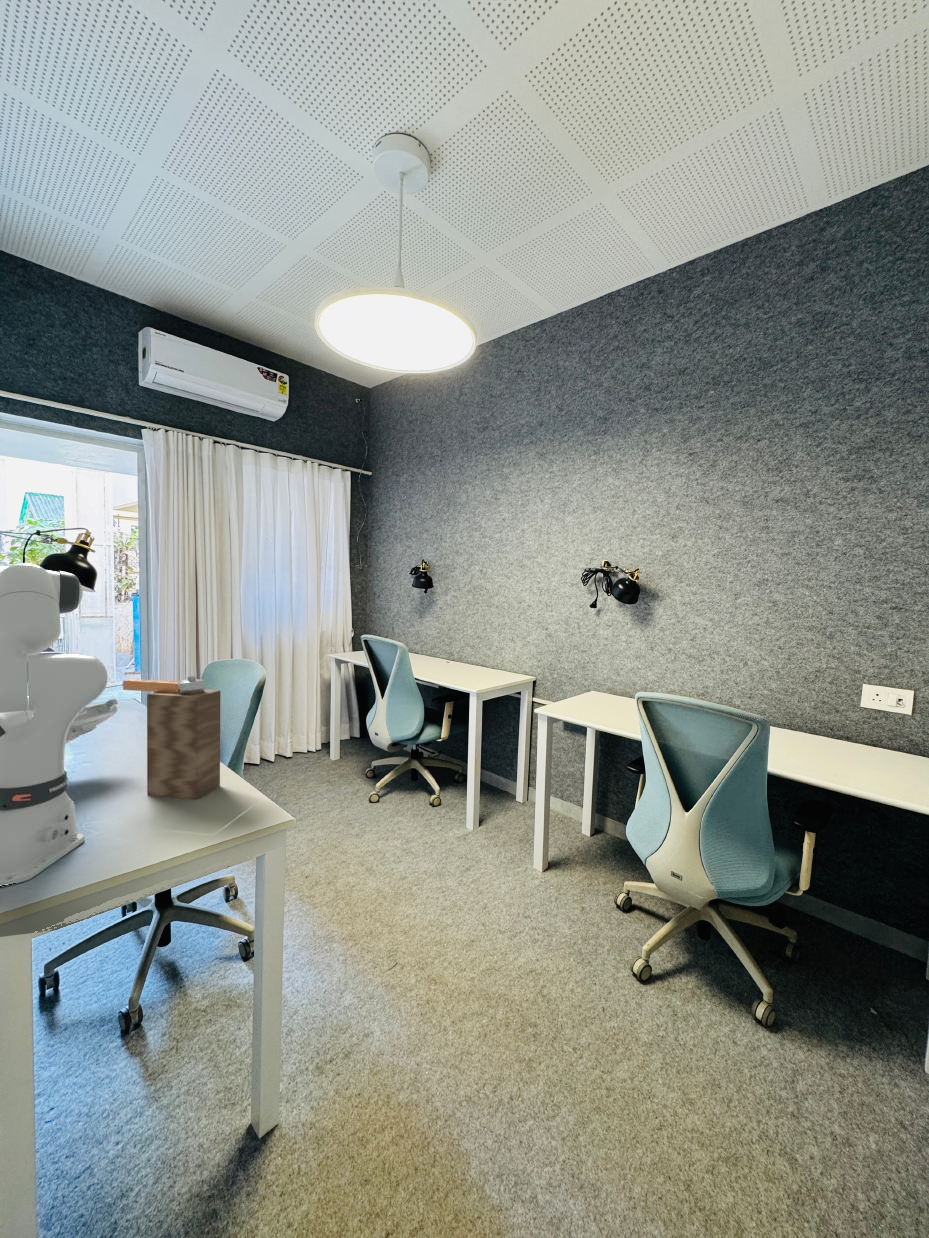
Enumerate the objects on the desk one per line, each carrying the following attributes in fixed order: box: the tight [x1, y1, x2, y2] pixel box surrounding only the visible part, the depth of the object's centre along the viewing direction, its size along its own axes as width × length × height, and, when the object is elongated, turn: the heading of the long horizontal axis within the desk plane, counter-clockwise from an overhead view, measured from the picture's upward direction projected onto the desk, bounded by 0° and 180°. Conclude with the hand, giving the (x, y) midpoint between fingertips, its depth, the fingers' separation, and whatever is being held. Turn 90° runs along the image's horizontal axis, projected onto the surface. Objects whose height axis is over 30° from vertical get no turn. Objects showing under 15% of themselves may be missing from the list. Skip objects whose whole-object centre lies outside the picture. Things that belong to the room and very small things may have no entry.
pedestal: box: [146, 689, 221, 800], centre depth 129 cm, size 14×9×26 cm, turn 82°
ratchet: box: [122, 675, 206, 695], centre depth 129 cm, size 22×6×4 cm, turn 82°
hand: (99, 705), depth 132 cm, fingers open, 8 cm apart
